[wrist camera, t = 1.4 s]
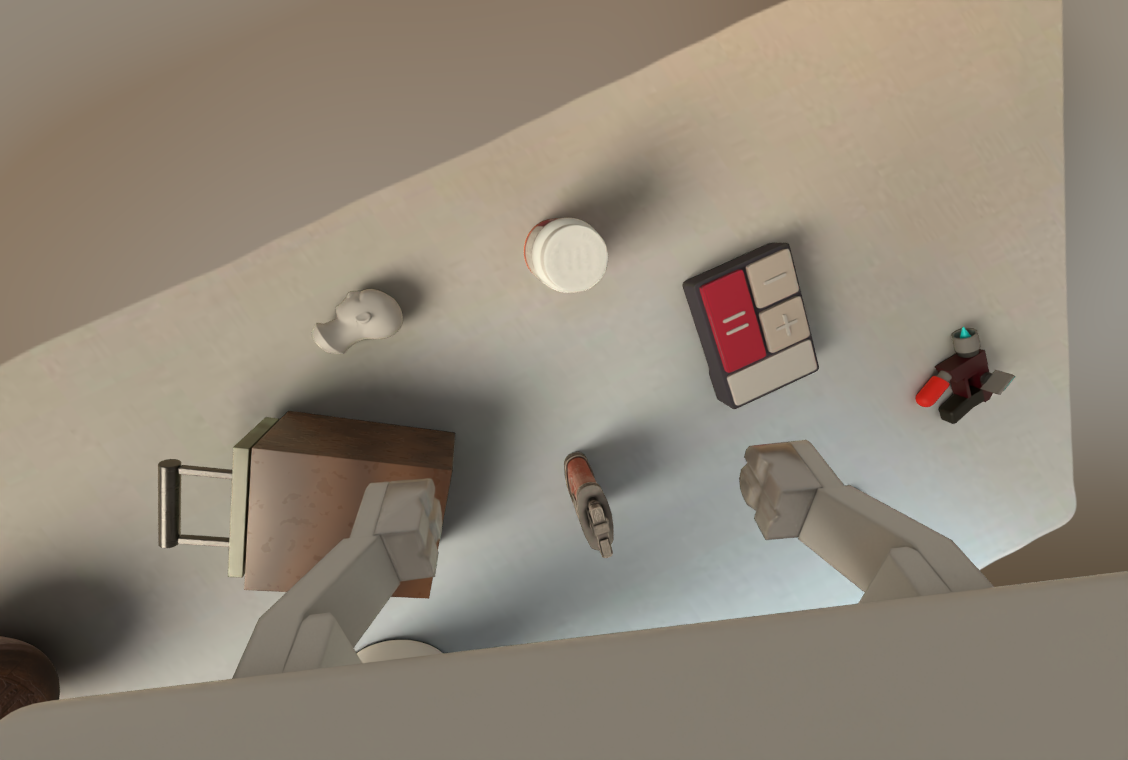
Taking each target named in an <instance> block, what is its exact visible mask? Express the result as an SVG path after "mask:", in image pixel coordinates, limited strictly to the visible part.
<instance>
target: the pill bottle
mask: <svg viewBox="0 0 1128 760" xmlns="http://www.w3.org/2000/svg"><path fill="white" fill-rule="evenodd" d="M524 257H525V261H526V264H527V266H528V268H529V269H530V271H531V272H532V273H533V274H534V276H536V277H537V278H538V279H539V280H540V281H541V282H543V283H544V284H545V285H546V286H548V287H549V288H551V289H553V290H555V291H558V292H563V293H573V292H582V291H585V290H588V289H590V288H592V287H593V286H594V285H596V284H597V283H598V282H599V281H600V280H601V278H602V277H603V275H604V273H605V271H606V268H607V264H608V251H607V247H606V244H605V242H604V240H603V239H602V237H601V236H600V235H599V234H598V233H597V232H596V230H595V229H594V228H593V227H592V226H590V225H589V224H588V223H586V222H584V221H582V220H580V219H576V218H568V217H566V218H564V217H563V218H556V219H548V220H545V221H542V222H540V223H539V224H537V225H536V226H535V227H534V228H533V229H532V230H531V231H530V232H529V234H528V236H527V238H526V241H525V245H524Z"/></svg>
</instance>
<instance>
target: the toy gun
mask: <svg viewBox="0 0 1128 760" xmlns="http://www.w3.org/2000/svg"><path fill="white" fill-rule="evenodd" d="M951 336H952V341H953V345H954V349H955V351H956V352H957V354H955V355H953V356H952V357H950V358H948V359H947V360H945V361H943V362H942V363H940V364H939V365H937V366H935V368H936V370H937V371H938V373H939V374H938V375H937V376H932V377H931V378H930V380H929V381H928V382H927V383H926V384H925V386H924V387H923V388H922V389H921V390H920V392H919V393H918V394H917V395H916V398H915V399H916V402H917V404H919V405H920V406H922V407H930V406H932V405H933V404H934V403H935V402H936V401H937V400H938V399H939V397H940V396H941V395H942V394H943V393H944V392H945V390H946V389H947V388H948V387H949V386H950V384H949V383H948V382H949V381H950V383H951V387H952V391H953V393H954V394H953V395H952V396H951V397H950V398H949V399H948V400H947V401H946V402H945V403H944V404H942V405H941V406H940V407H939V412H940V416H941V419H942V420H945V421H947V422H949V423H952V424H955V423H957V422H958V421H959V420H960V419H961V418H962V417H963V416H964V415H965V414H967V413H968V412H969V411H970V410H971V409H972V408H973V407H975V406H977V405H978V404H980V403H981V402H986V401H988V400H989V399H990V398H991V396H992V394H993V393H995V394H999V395H1001V393H1002V392H1003V391H1004V390H1005V389H1006V388H1007V386H1008V385H1009V384H1010V383H1011V381H1012V380H1013V379H1014V378H1015V376H1014V375H1012V374H1009V373H1005V372H1001V371H998V370H995V371H994V372H993V373H989V369H988V363H987V358H986V353H985V350H981V349H979V348H980V341H979V337H978V332H977V330H976V329H973V328H964V327H963V328H962V329H960V330H957V331H955V332H953V333H952V335H951Z"/></svg>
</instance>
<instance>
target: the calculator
mask: <svg viewBox="0 0 1128 760" xmlns="http://www.w3.org/2000/svg"><path fill="white" fill-rule="evenodd" d="M683 289H684V292H685V295H686V298H687V301H688V304H689V307H690V310H691V313H692V317H693V320H694V323H695V326H696V329H697V332H698V335H699V338H700V341H701V344H702V347H703V350H704V353H705V357H706V360H707V363H708V366H709V375H710V378H711V381H712V384H713V387H714V390H715V393H716V396H717V399H718V400H720V401H721V402H723V403H724V404H726V405H727V406H729V407H731V408H732V409H737V408H739V407H741V406H743V405H745V404H747V403H750V402H752V401H754V400H756V399H758V398H760V397H763V396H765V395H767V394H769V393H771V392H773V391H775V390H778V389H780V388H782V387H784V386H786V385H788V384H791V383H793V382H795V381H797V380H799V379H801V378H803V377H806V376H808V375H810V374H812V373H814V372H816V371H818V369H819V365H818V361H817V357H816V353H815V348H814V344H813V340H812V336H811V332H810V328H809V324H808V320H807V316H806V311H805V307H804V303H803V299H802V295H801V291H800V287H799V283H798V278H797V274H796V270H795V266H794V262H793V258H792V254H791V250H790V246H789V244H788V243H769V244H767V245H765V246H762V247H760V248H758V249H756V250H754V251H751V252H749V253H747V254H745V255H742V256H740V257H738V258H736V259H733V260H731V261H729V262H727V263H725V264H722V265H720V266H718V267H716V268H713V269H711V270H709V271H707V272H705V273H702V274H700V275H698V276H696V277H693V278H691V279H689V280H687V281H685V282H684V283H683Z"/></svg>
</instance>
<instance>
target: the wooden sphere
mask: <svg viewBox="0 0 1128 760" xmlns="http://www.w3.org/2000/svg"><path fill="white" fill-rule="evenodd" d="M59 695H60V685H59V679H58V675H57V672H56V669H55V667H54V665H53V664H52V662H51V661H50V659H49V658H48V657H47V656H46V655H45V654H44V653H43V652H42V651H40V650H39V649H37V648H36V647H34V646H32V645H30V644H28V643H26V642H23V641H20V640H17V639H13V638H8V637H0V720H1V719H2V718H4V717H5V716H7V715H8V714H10V713H11V712H13V711H15V710H17V709H19V708H22V707H25V706H28V705H31V704H35V703H40V702H46V701H52V700H59Z"/></svg>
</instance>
